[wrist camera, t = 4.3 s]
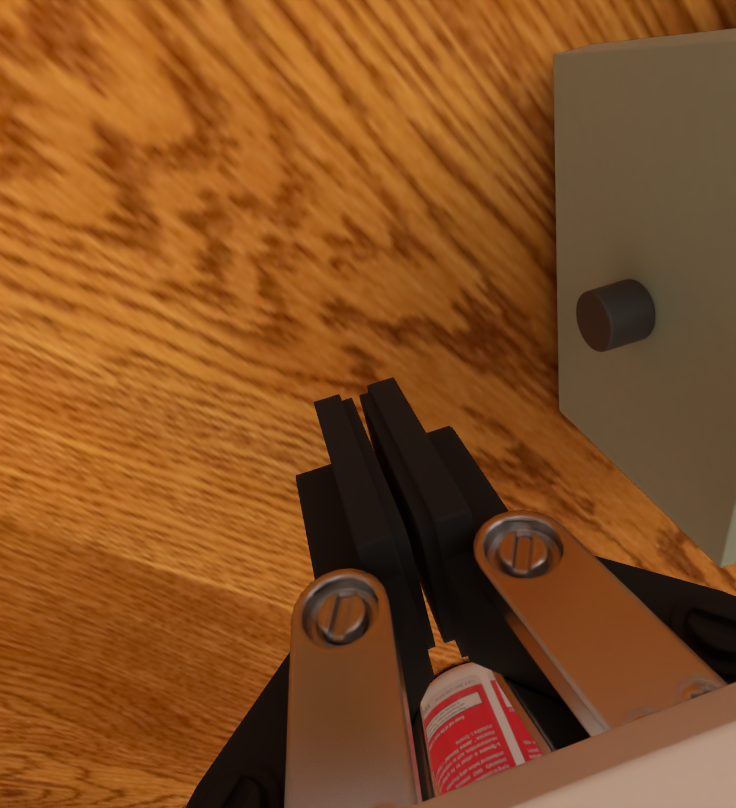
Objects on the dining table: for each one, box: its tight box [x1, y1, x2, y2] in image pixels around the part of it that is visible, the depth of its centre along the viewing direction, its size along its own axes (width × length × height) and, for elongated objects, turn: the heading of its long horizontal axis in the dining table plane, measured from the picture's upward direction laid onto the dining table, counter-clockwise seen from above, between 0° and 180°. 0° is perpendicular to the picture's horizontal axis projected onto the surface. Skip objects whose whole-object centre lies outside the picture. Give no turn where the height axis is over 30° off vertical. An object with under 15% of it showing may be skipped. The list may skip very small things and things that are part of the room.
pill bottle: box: [421, 662, 543, 795], centre depth 26 cm, size 6×6×11 cm
